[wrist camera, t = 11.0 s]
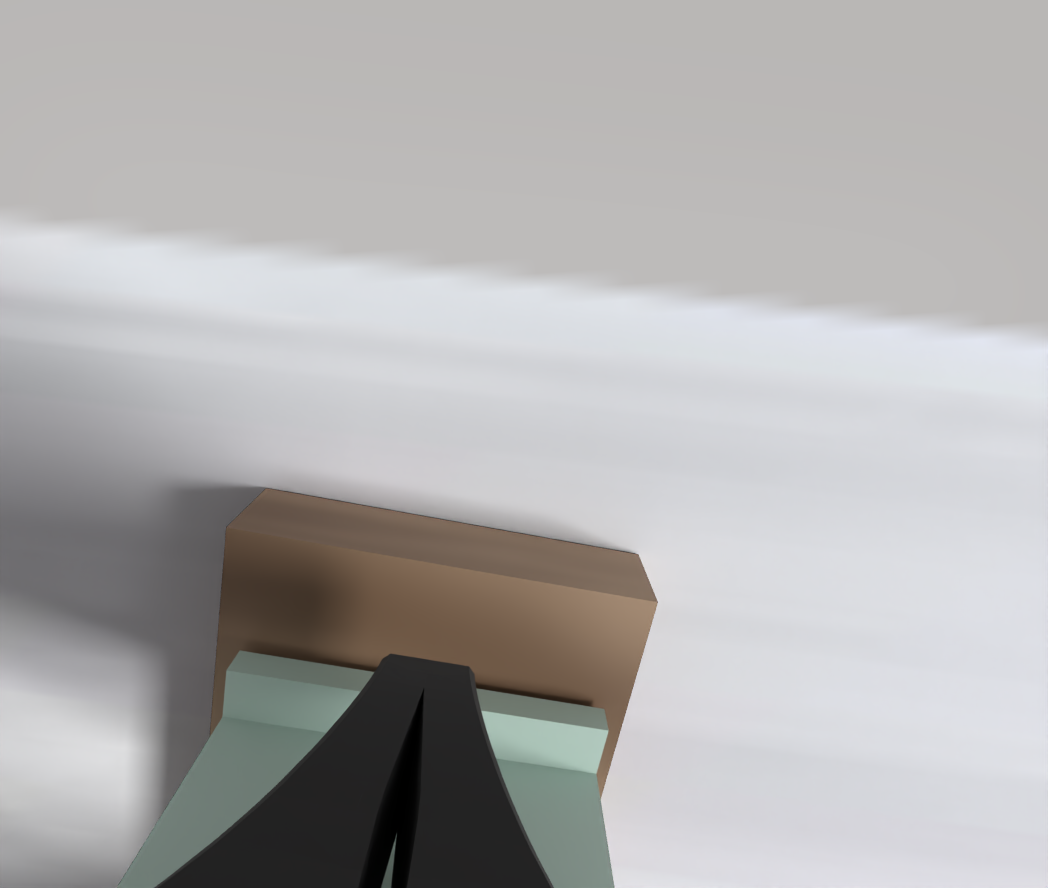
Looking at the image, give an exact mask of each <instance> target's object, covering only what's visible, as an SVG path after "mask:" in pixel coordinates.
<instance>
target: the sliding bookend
mask: <svg viewBox="0 0 1048 888" xmlns="http://www.w3.org/2000/svg"><path fill="white" fill-rule="evenodd" d="M373 673H374V672H371V671H365V670H358V669H352V668H346V667H340V666H333V665H327V664H321V663H315V662H308V661H302V660H296V659H290V658H283V657H277V656H271V655H265V654H259V653H252V652H246V651H239V652H238V654H237V655H236V657H235V658H234V660H233V661H232V663H231V664H230V666H229V667H228V669H227V670H226V681H225V693H224V705H223V716H222V718H221V720H220V722H219V723H218V725H217V726H216V728H215V730H214V731H213V733H212V734H211V736H210V738H209V739H208V741H207V743H206V744H205V746H204V747H203V749H202V751H201V752H200V754H199V756H198V757H197V759H196V760H195V762H194V764H193V765H192V767H191V768H190V770H189V772H188V773H187V775H186V777H185V778H184V780H183V781H182V783H181V785H180V786H179V788H178V789H177V791H176V793H175V794H174V796H173V798H172V799H171V801H170V802H169V804H168V806H167V807H166V809H165V811H164V812H163V814H162V815H161V817H160V819H159V820H158V822H157V823H156V825H155V827H154V828H153V830H152V832H151V833H150V835H149V836H148V838H147V840H146V841H145V843H144V844H143V846H142V848H141V849H140V851H139V853H138V854H137V856H136V857H135V859H134V861H133V862H132V864H131V866H130V867H129V869H128V870H127V872H126V874H125V875H124V877H123V878H122V880H121V882H120V883H119V885H118V887H117V888H154V887H155V886H157V885H158V884H160V883H161V882H162V881H164V880H165V879H166V878H167V877H169V876H170V875H171V874H173V873H174V872H175V871H176V870H178V869H179V868H180V867H181V866H183V865H184V864H185V863H186V862H188V861H189V860H190V859H192V858H193V857H194V856H195V855H197V854H198V853H199V852H200V851H202V850H203V849H204V848H205V847H207V846H208V845H209V844H210V843H212V842H213V841H214V840H215V839H217V838H218V837H219V836H220V835H221V834H222V833H224V832H225V831H226V830H227V829H228V828H229V827H231V826H232V825H233V824H234V823H235V822H236V821H237V820H239V819H240V818H241V817H242V816H243V815H244V814H246V813H247V812H248V811H249V810H250V809H251V808H252V807H253V806H254V805H256V804H257V803H258V802H259V801H260V800H261V799H262V798H263V797H264V796H265V795H266V794H267V793H268V792H269V791H271V790H272V789H273V788H274V787H275V786H276V785H277V784H278V783H279V782H280V781H281V780H282V779H283V778H284V777H285V776H286V775H287V774H288V773H289V772H290V771H291V770H292V769H293V768H294V767H295V766H296V764H297V763H298V762H299V761H300V760H301V759H302V758H303V757H304V756H305V755H306V754H307V753H308V752H309V751H310V750H311V749H312V748H313V747H314V746H315V745H316V744H317V743H318V742H319V741H320V739H321V738H322V737H323V736H324V735H325V734H326V733H327V731H328V730H329V729H330V728H331V727H332V726H333V724H334V723H335V722H336V721H337V720H338V719H339V718H340V716H341V715H342V714H343V713H344V712H345V711H346V709H347V708H348V707H349V706H350V704H351V703H352V702H353V701H354V699H355V698H356V697H357V696H358V694H359V693H360V692H361V690H362V689H363V688H364V686H365V685H366V684H367V682H368V681H369V679H370V678H371V677H372V675H373ZM476 689H477V688H476ZM477 695H478V700H479V704H480V708H481V712H482V715H483V719H484V723H485V726H486V730H487V733H488V736H489V739H490V743H491V746H492V748H493V751H494V754H495V757H496V760H497V762H498V765H499V768H500V771H501V774H502V777H503V779H504V782H505V784H506V787H507V789H508V792H509V794H510V797H511V799H512V802H513V804H514V806H515V809H516V811H517V813H518V815H519V818H520V820H521V822H522V825H523V827H524V829H525V831H526V833H527V836H528V838H529V840H530V842H531V844H532V846H533V848H534V850H535V852H536V854H537V856H538V858H539V860H540V862H541V864H542V866H543V868H544V870H545V872H546V873H547V875H548V877H549V879H550V881H551V883H552V885H553V887H554V888H614V882H613V876H612V869H611V863H610V857H609V850H608V844H607V838H606V831H605V825H604V819H603V813H602V806H601V800H600V794H599V787H598V781H597V775H596V773H597V770H598V766H599V763H600V759H601V756H602V752H603V749H604V745H605V742H606V738H607V735H608V731H609V730H608V725H607V720H606V715H605V710H604V709H602V708H595V707H589V706H583V705H577V704H570V703H564V702H558V701H552V700H545V699H539V698H533V697H527V696H521V695H514V694H508V693H502V692H496V691H489V690H483V689H477ZM395 845H396V838H395V842H394V845H393V849H392V852H391V855H390V859H389V862H388V866H387V869H386V873H385V876H384V879H383V883H382V886H381V888H391V882H392V873H393V863H394V854H395Z"/></svg>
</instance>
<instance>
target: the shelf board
mask: <svg viewBox="0 0 1048 888" xmlns="http://www.w3.org/2000/svg"><path fill="white" fill-rule="evenodd" d="M657 603H658V602H657V599H656V597H655V594H654V592H653V589H652V587H651V584H650V582H649V579H648V577H647V575H646V572H645V570H644V567H643V565H642V562H641V560H640V557H639V555H638V554H632V553H627V552H621V551H616V550H610V549H604V548H599V547H593V546H588V545H582V544H576V543H571V542H565V541H560V540H554V539H548V538H543V537H537V536H532V535H526V534H520V533H515V532H509V531H503V530H498V529H492V528H487V527H481V526H475V525H470V524H464V523H459V522H453V521H447V520H442V519H436V518H431V517H425V516H419V515H414V514H408V513H403V512H397V511H391V510H386V509H380V508H375V507H369V506H363V505H358V504H352V503H347V502H341V501H335V500H330V499H324V498H318V497H313V496H307V495H302V494H296V493H290V492H285V491H279V490H274V489H268V488H266V489H265V490H264V491H263V492H262V493H261V494H260V495H259V496H258V497H257V498H256V499H255V500H254V501H253V502H252V503H251V504H250V505H249V506H248V507H247V508H246V509H245V510H244V511H242V512H241V513H240V514H239V515H238V516H237V517H236V518H235V519H234V520H233V521H232V522H231V523H230V524H229V525H228V526H227V527H226V536H225V549H224V561H223V574H222V587H221V599H220V612H219V624H218V637H217V650H216V662H215V675H214V688H213V700H212V713H211V726H210V736H211V734H212V733H213V731H214V730H215V728H216V726H217V725H218V723H219V722H220V720H221V718H222V716H223V705H224V693H225V681H226V670H227V669H228V667H229V666H230V664H231V663H232V661H233V660H234V658H235V657H236V655H237V654H238V652H239V651H246V652H252V653H259V654H265V655H271V656H277V657H283V658H290V659H296V660H302V661H308V662H315V663H321V664H327V665H333V666H340V667H346V668H352V669H358V670H365V671H371V672H375V670H376V669H377V667H378V666H379V664H380V662H381V660H382V659H383V658H384V657H386V656H388V655H389V654H397V655H403V656H410V657H416V658H422V659H428V660H434V661H440V662H446V663H452V664H458V665H464V666H469V667H470V668H471V670H472V671H473V673H474V674H475V684H476V688H477V689H483V690H489V691H496V692H502V693H508V694H514V695H521V696H527V697H533V698H539V699H545V700H552V701H558V702H564V703H570V704H577V705H583V706H589V707H595V708H602V709H604V710H605V715H606V720H607V725H608V730H609V731H608V735H607V738H606V742H605V745H604V749H603V752H602V756H601V759H600V763H599V766H598V770H597V773H596V775H597V781H598V787H599V794H600V799H601V796H602V792H603V789H604V785H605V782H606V778H607V775H608V772H609V768H610V765H611V761H612V758H613V754H614V751H615V748H616V744H617V741H618V737H619V734H620V730H621V727H622V724H623V720H624V717H625V713H626V710H627V706H628V703H629V699H630V696H631V693H632V689H633V686H634V682H635V679H636V675H637V672H638V669H639V665H640V662H641V658H642V655H643V651H644V648H645V645H646V641H647V638H648V634H649V631H650V627H651V624H652V620H653V617H654V614H655V610H656V607H657Z"/></svg>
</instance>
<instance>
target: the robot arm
mask: <svg viewBox="0 0 1048 888" xmlns="http://www.w3.org/2000/svg"><path fill="white" fill-rule="evenodd" d="M395 838H396V845H395V854H394V863H393V873H392V882H391V888H554V887H553V885H552V883H551V881H550V879H549V877H548V875H547V873H546V872H545V870H544V868H543V866H542V864H541V862H540V860H539V858H538V856H537V854H536V852H535V850H534V848H533V846H532V844H531V842H530V840H529V838H528V836H527V833H526V831H525V829H524V827H523V825H522V822H521V820H520V818H519V815H518V813H517V811H516V809H515V806H514V804H513V802H512V799H511V797H510V794H509V792H508V789H507V787H506V784H505V782H504V779H503V777H502V774H501V771H500V768H499V765H498V762H497V760H496V757H495V754H494V751H493V748H492V746H491V743H490V739H489V736H488V733H487V730H486V726H485V723H484V719H483V715H482V712H481V708H480V704H479V700H478V695H477V689H476V684H475V674H474V673H473V671H472V670H471V668H470V667H469V666H464V665H458V664H452V663H446V662H440V661H434V660H428V659H422V658H416V657H410V656H403V655H397V654H389V655H388V656H386V657H384V658H383V659H382V660H381V662H380V664H379V666H378V667H377V669H376V670H375V672H374V673H373V675H372V677H371V678H370V679H369V681H368V682H367V684H366V685H365V686H364V688H363V689H362V690H361V692H360V693H359V694H358V696H357V697H356V698H355V699H354V701H353V702H352V703H351V704H350V706H349V707H348V708H347V709H346V711H345V712H344V713H343V714H342V715H341V716H340V718H339V719H338V720H337V721H336V722H335V723H334V724H333V726H332V727H331V728H330V729H329V730H328V731H327V733H326V734H325V735H324V736H323V737H322V738H321V739H320V741H319V742H318V743H317V744H316V745H315V746H314V747H313V748H312V749H311V750H310V751H309V752H308V753H307V754H306V755H305V756H304V757H303V758H302V759H301V760H300V761H299V762H298V763H297V764H296V766H295V767H294V768H293V769H292V770H291V771H290V772H289V773H288V774H287V775H286V776H285V777H284V778H283V779H282V780H281V781H280V782H279V783H278V784H277V785H276V786H275V787H274V788H273V789H272V790H271V791H269V792H268V793H267V794H266V795H265V796H264V797H263V798H262V799H261V800H260V801H259V802H258V803H257V804H256V805H254V806H253V807H252V808H251V809H250V810H249V811H248V812H247V813H246V814H244V815H243V816H242V817H241V818H240V819H239V820H237V821H236V822H235V823H234V824H233V825H232V826H231V827H229V828H228V829H227V830H226V831H225V832H224V833H222V834H221V835H220V836H219V837H218V838H217V839H215V840H214V841H213V842H212V843H210V844H209V845H208V846H207V847H205V848H204V849H203V850H202V851H200V852H199V853H198V854H197V855H195V856H194V857H193V858H192V859H190V860H189V861H188V862H186V863H185V864H184V865H183V866H181V867H180V868H179V869H178V870H176V871H175V872H174V873H173V874H171V875H170V876H169V877H167V878H166V879H165V880H164V881H162V882H161V883H160V884H158V885H157V886H155V887H154V888H381V886H382V883H383V879H384V876H385V873H386V869H387V866H388V862H389V859H390V855H391V852H392V849H393V845H394V842H395Z"/></svg>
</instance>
